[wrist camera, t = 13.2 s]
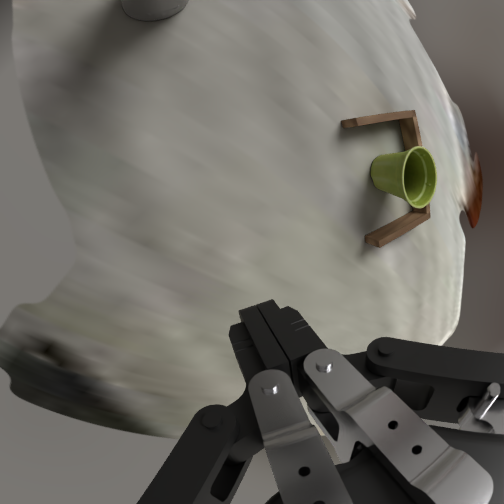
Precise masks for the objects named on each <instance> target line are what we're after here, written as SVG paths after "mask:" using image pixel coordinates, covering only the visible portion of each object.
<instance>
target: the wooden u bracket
mask: <svg viewBox="0 0 504 504" xmlns="http://www.w3.org/2000/svg"><path fill="white" fill-rule="evenodd" d="M396 119H399V123H400V127H401V132H402V137H403V142H404V147H405V151H407V150H410V149H411V148H413V147H416V146H422V142H421V136H420V131H419V126H418V122H417V117H416V113H415V110H411V111H401V112H393V113H385V114H378V115H371V116H365V117H359V118H353V119H347V120H342V121H341V122H342V125H343V128H348V127H355V126H361V125H367V124H372V123H378V122H384V121H390V120H396ZM429 218H430V204H428V205H426V206H425V207H423V208H415V207H413V211H411V212H409V213H408V214H406V215H404V216H402V217H400V218H398V219H396V220H394V221H393V222H391V223H389V224H387V225H385V226H383V227H381V228H379V229H377V230H375V231H373V232H371V233H369V234H368V235H366V236H365V242H366V243H369V244H371V245H374V246H376V247H379V248H380V247H382V246H384V245H385V244H387V243H389V242H391V241H392V240H394V239H396V238H398V237H399V236H401V235H403V234H404V233H406V232H408V231H409V230H411V229H413V228H414V227H416V226H418V225H419V224H421V223H423V222H424V221H426V220H428V219H429Z"/></svg>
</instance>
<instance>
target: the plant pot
mask: <svg viewBox="0 0 504 504" xmlns="http://www.w3.org/2000/svg"><path fill="white" fill-rule="evenodd" d="M371 177H372V179H373V182H374V185H375V187H376V188H378V189H379V190H382V191H384V192H387V193H390V194H392V195H395V196H397V197H400V198H402V199H404V200H405V201H407V202H408V203H409V204H410V205H411V206H412V207H415V208H423V207H425V206H426V205H428V204H429V202H430V201H431V199H432V197H433V195H434V193H435V189H436V184H437V171H436V166H435V162H434V159H433V157H432V155H431V154H430V152H429V151H428V150H427V149H426V148H424V147H422V146H416V147H413V148H411V149H410V150H407V151H405V152H398V153H392V154H385V155H380V156H378V157H377V158H375V159H374V161H373V163H372V166H371Z"/></svg>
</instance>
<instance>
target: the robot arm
mask: <svg viewBox="0 0 504 504" xmlns="http://www.w3.org/2000/svg"><path fill="white" fill-rule="evenodd" d="M187 2H188V0H122V7H123V10H124V11H125V13H126V14H127V15H129V16H130V17H132V18H134V19H138V20H143V21H155V20H161V19H164V18H168V17H170V16H172V15H174V14H176V13H178V12H179V11H181V10H182V9H183V8H184V7H185V5H186V4H187ZM239 315H240V319H241V323H238V324H235V325H232V326H231V327H230V331H229V338H230V341H231V344H232V347H233V350H234V353H235V356H236V359H237V361H238V364H239V367H240V369H241V372H242V374H243V377H244V379H245V382H246V388H245V391H244V393H243V394H242V396H241V397H240V398H239V399H238V400H236V401H235V402H233V403H232V404H230V405H229V406H227V407H226V406H223V405H209V406H206V407H204V408H202V409H200V410H199V411H198V412H197V413H196V414H195V415H194V417H193V419H192V420H191V422H190V423H189V425H188V427H187V428H186V430H185V431H184V433H183V434H182V436H181V438H180V439H179V441H178V443H177V444H176V445H175V447H174V449H173V450H172V452H171V453H170V455H169V456H168V458H167V459H166V461H165V462H164V464H163V466H162V467H161V469H160V470H159V472H158V473H157V475H156V476H155V478H154V479H153V481H152V482H151V484H150V485H149V486H148V488H147V489H146V491H145V492H144V494H143V495H142V497H141V498H140V500H139V501H138V502H137V504H230V503H231V501H232V499H233V496H234V495H235V493H236V491H237V489H238V487H239V485H240V483H241V481H242V479H243V477H244V475H245V472H246V471H247V468H248V466H249V464H250V462H251V460H252V457H253V455H255V454H256V453H258V452H259V451H260V450H262V449H263V448H265V450H266V453H267V456H268V459H269V462H270V465H271V468H272V472H273V475H274V478H275V481H276V483H277V486H278V489H279V492H277V493H276V494H275V495H274V496H272V497H271V498H270V499H269V500H268V501H267V502H266V503H265V504H504V354H502V353H493V352H483V351H475V350H467V349H459V348H452V347H445V346H438V345H432V344H425V343H419V342H413V341H407V340H401V339H396V338H390V337H381V338H378V339H375V340H374V341H372V342H371V343H370V344H369V345H368V347H367V351H365V352H360V353H355V354H349V355H342V354H340V353H339V352H338V351H336V350H333V349H328V348H327V347H326V346H325V344H324V343H323V342H322V341H321V339H320V338H319V337H318V336H317V334H316V333H315V332H314V331H313V329H312V328H311V327H310V326H309V325H308V323H307V322H306V321H305V320H304V318H303V317H302V316H301V314H300V313H299V312H298V311H297V310H295V309H293V308H291V307H289V306H287V307H284V308H281V309H280V308H279V307H278V305H277V304H276V303H275V301H274V300H273V299H271V300H269V301H266V302H263V303H260V304H257V305H256V306H255V305H254V306H251V307H248V308H245V309H242V310H239ZM302 396H303V397H304V399H305V400H306V402H307V409H308V411H309V413H310V415H311V416H312V417H313V419H314V420H315V421H316V423H317V424H318V426H319V427H320V428H321V430H322V431H323V432H324V434H325V435H326V436H327V438H328V439H329V441H330V442H331V443H332V445H333V446H334V448H335V451H336V454H337V456H338V458H339V460H340V461H341V463H342V464H338V465H334V463H333V461H332V459H331V457H330V455H329V453H328V451H327V448H326V447H325V444H324V442H323V440H322V438H321V436H320V434H319V432H318V430H317V428H316V427H315V426H314V425H312V424H311V423H310V421H309V419H308V416H307V414H306V412H305V410H304V408H303V406H302V403H301V401H300V399H299V397H302ZM421 418H423V419H428V420H435V421H442V422H449V423H458V424H459V426H460V428H459V430H457V429H451V428H445V427H438V426H433V425H427V424H426V423H425V422H424V421H423V420H422V419H421Z"/></svg>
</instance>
